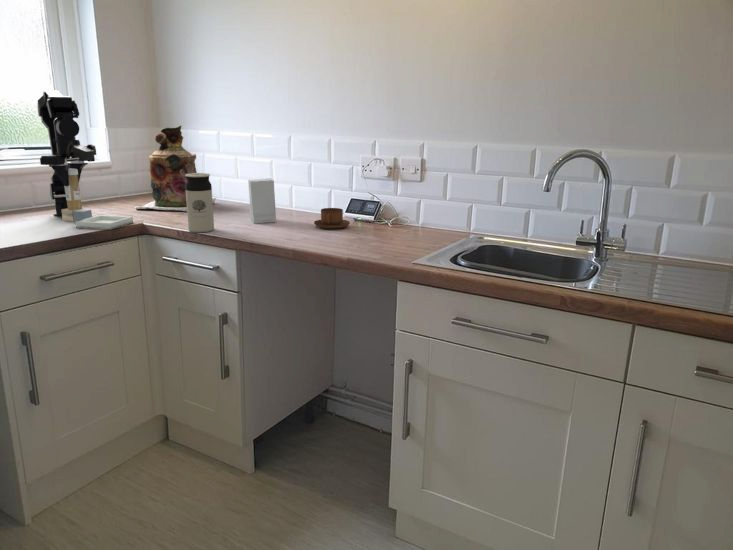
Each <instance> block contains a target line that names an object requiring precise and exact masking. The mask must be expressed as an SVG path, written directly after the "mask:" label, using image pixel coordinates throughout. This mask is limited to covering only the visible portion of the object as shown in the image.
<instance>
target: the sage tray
mask: <svg viewBox="0 0 733 550" xmlns="http://www.w3.org/2000/svg"><path fill="white" fill-rule="evenodd" d="M133 218H134V217H133V216H123V215H101V214H100V215H94V216H92V217H91V218H87V219H84V220H80V221H76V222H74V223H75V228H77V229H92V228H93V230H96V229H97V230H113V229H114V230H115V229H118V228H120V226H121V227H124V226H126V225H125V224H127V225H129V223H130V224H133V223H134V219H133ZM132 222H133V223H132ZM123 225H124V226H123Z"/></svg>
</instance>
